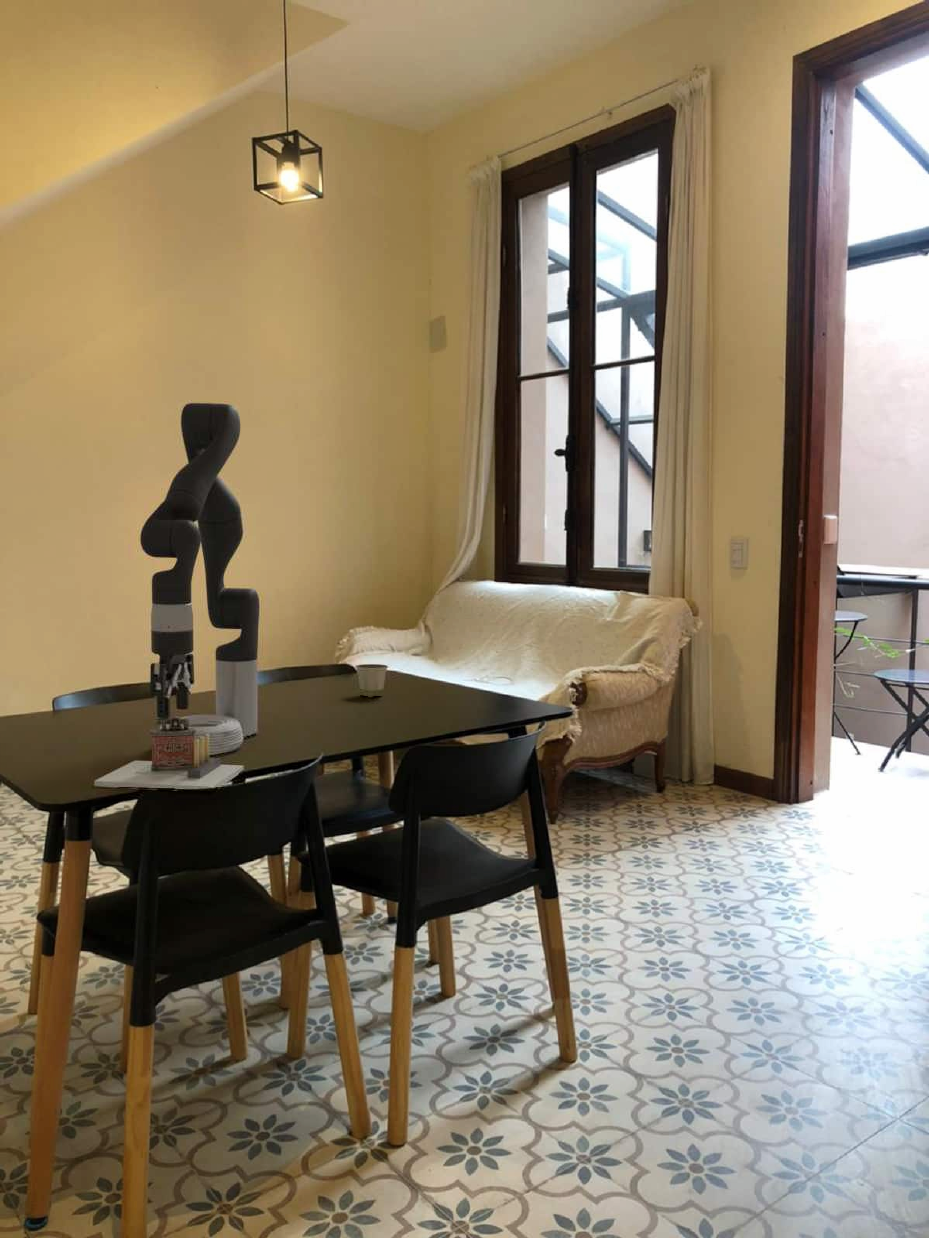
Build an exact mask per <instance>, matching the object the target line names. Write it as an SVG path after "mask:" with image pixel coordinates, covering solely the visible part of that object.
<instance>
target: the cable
mask: <svg viewBox="0 0 929 1238" xmlns="http://www.w3.org/2000/svg"><path fill="white" fill-rule="evenodd" d="M180 718H189V726H188V728H194V729H196V733H195V740H199V737H204V735H205V734H209V756H214V755H218V754H223V753H229V752H233V751H235V750H237V749H238V748H240V746H241V745H242V743H244V737H243V734H242V728H241V726H240V723H239V722H238V721H237V720H236V719H234V718H231V717H227V716H221V715H216V714H195V715H193V714H191V715H188V716H182V717H180ZM169 726H170V725H166V729H169ZM181 726H182V728H184V726H183V724H181ZM159 729H162V725H159Z"/></svg>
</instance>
